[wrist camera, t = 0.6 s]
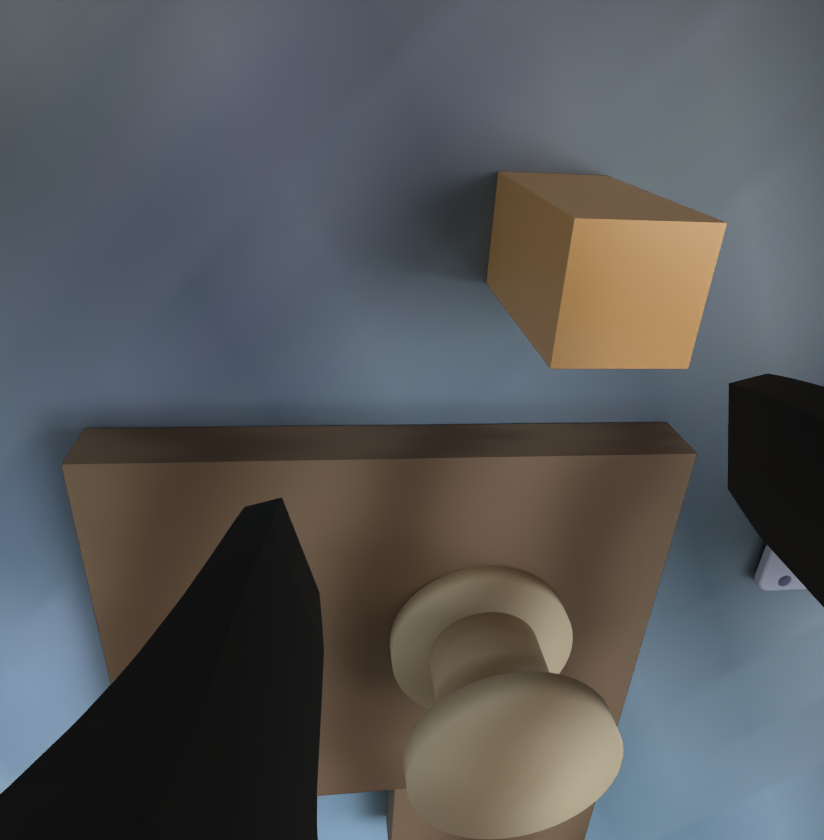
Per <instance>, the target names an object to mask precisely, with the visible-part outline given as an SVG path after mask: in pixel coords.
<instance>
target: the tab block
mask: <svg viewBox="0 0 824 840" xmlns="http://www.w3.org/2000/svg"><path fill="white" fill-rule="evenodd" d="M726 225H727V223H726V222H723V221H721V220H718V219H716V218H713V217H711V216H708V215H706V214H703V213H701V212H698V211H696V210H693V209H691V208H688V207H686V206H683V205H681V204H678V203H675V202H673V201H670V200H668V199H665V198H663V197H660V196H658V195H655V194H653V193H650V192H648V191H645V190H643V189H640V188H638V187H635V186H632V185H630V184H627V183H625V182H622V181H620V180H617V179H615V178H612V177H610V176H603V175H578V174H553V173H528V172H503V171H498V179H497V189H496V198H495V207H494V217H493V226H492V235H491V245H490V254H489V264H488V273H487V282H486V284H487V285H488V286H489V288H490V289H491V290H492V292H493V293H494V294H495V296H496V297H497V298H498V300H499V301H500V302H501V304H502V305H503V306H504V308H505V309H506V310H507V312H508V313H509V314H510V316H511V317H512V318H513V320H514V321H515V322H516V324H517V325H518V326H519V328H520V329H521V330H522V332H523V333H524V334H525V336H526V337H527V338H528V340H529V341H530V342H531V344H532V345H533V346H534V348H535V349H536V350H537V352H538V353H539V354H540V356H541V357H542V358H543V360H544V361H545V362H546V364H547V365H548V366H549V368H550V369H688V367H689V364H690V360H691V356H692V352H693V349H694V345H695V341H696V337H697V334H698V330H699V326H700V322H701V319H702V315H703V311H704V307H705V304H706V300H707V296H708V292H709V289H710V285H711V281H712V278H713V274H714V270H715V266H716V263H717V259H718V255H719V251H720V248H721V244H722V240H723V236H724V233H725V229H726Z"/></svg>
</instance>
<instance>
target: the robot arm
mask: <svg viewBox="0 0 824 840" xmlns="http://www.w3.org/2000/svg"><path fill="white" fill-rule="evenodd" d="M728 490H729V491H730V493H731V494H732V496H733V497H734V499H735V500H736V502H737V504H738V505H739V507H740V508H741V510H742V511H743V513H744V514H745V516H746V517H747V519H748V520H749V521H750V523H751V524H752V526H753V527H754V528H755V530H756V531H757V533H758V534H759V535H760V537H761V538H762V540H763V541H764V542H765V543H766V544H767V545H766V547H765V550H764V553H763V555H762V558H761V561H760V563H759V566H758V569H757V571H756V574H755V578H754V580H755V582H756V584H757V585H758V586H759V587H760V588H761V589H762V590H766V591H773V590H794V589H808V591H809V592H810V593H811V594H812V595H813V596H814V597H815V598H816V599H817V600H818V601H819V602H820V604H821V605H822V606H823V607H824V387H823V386H819V385H816V384H812V383H808V382H804V381H800V380H796V379H792V378H787V377H783V376H778V375H772V374H764V375H760V376H756V377H752V378H748V379H744V380H740V381H736V382H732V383H729V424H728ZM323 665H324V642H323V627H322V615H321V603H320V592H319V590H318V587H317V585H316V582H315V580H314V577H313V575H312V572H311V570H310V567H309V565H308V562H307V559H306V557H305V554H304V552H303V549H302V547H301V544H300V542H299V539H298V537H297V534H296V532H295V529H294V527H293V524H292V521H291V519H290V516H289V514H288V511H287V509H286V506H285V504H284V501H283V499H282V497H281V498H277V499H273V500H269V501H265V502H262V503H258V504H254V505H250V506H246V507H244V508H243V510H242V511H241V512H240V514H239V515H238V516H237V518H236V519H235V521H234V522H233V524H232V525H231V526H230V528H229V529H228V531H227V532H226V534H225V535H224V537H223V538H222V540H221V541H220V543H219V544H218V546H217V547H216V549H215V550H214V552H213V553H212V555H211V556H210V558H209V559H208V560H207V562H206V563H205V565H204V566H203V568H202V569H201V570H200V572H199V573H198V575H197V576H196V578H195V579H194V580H193V582H192V583H191V585H190V586H189V587H188V589H187V590H186V592H185V593H184V595H183V596H182V597H181V599H180V600H179V601H178V603H177V604H176V605H175V606H174V608H173V609H172V610H171V612H170V613H169V614H168V615H167V617H166V618H165V619H164V621H163V622H162V623H161V624H160V626H159V627H158V628H157V630H156V631H155V632H154V633H153V635H152V636H151V637H150V639H149V640H148V641H147V642H146V644H145V645H144V646H143V648H142V649H141V650H140V651H139V653H138V654H137V655H136V656H135V657H134V659H133V660H132V661H131V662H130V663H129V665H128V666H127V667H126V668H125V669H124V670H123V671H122V673H121V674H120V675H119V676H118V677H117V678H116V679H115V681H114V682H113V683H112V684H111V685H110V686H109V687H108V688H107V689H106V690H105V691H104V693H103V694H102V695H101V696H100V697H99V698H98V699H97V700H96V701H95V702H94V703H93V704H92V706H91V707H90V708H89V709H88V710H87V711H86V712H85V713H84V714H83V715H82V716H81V717H80V718H79V719H78V720H77V721H76V722H75V723H74V724H73V725H72V726H71V727H70V728H69V729H68V730H67V731H66V732H65V733H64V734H63V735H62V736H61V737H60V738H59V739H58V740H57V741H56V742H55V743H54V744H53V745H52V746H51V747H50V748H49V749H48V750H46V751H45V752H44V753H43V754H42V755H41V756H40V757H39V758H38V759H37V760H36V761H35V762H34V763H33V764H32V765H31V766H30V767H29V768H28V769H27V770H26V771H25V772H24V773H23V774H21V775H20V776H19V777H18V778H17V779H16V780H15V781H14V782H13V783H12V784H11V785H10V786H9V787H8V788H7V789H6V790H4V791H3V792H2V793H1V794H0V840H318V838H317V782H318V763H319V744H320V726H321V707H322V687H323Z"/></svg>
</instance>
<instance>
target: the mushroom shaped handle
mask: <svg viewBox="0 0 824 840" xmlns="http://www.w3.org/2000/svg"><path fill="white" fill-rule="evenodd" d="M572 642H573V632H572V627H571V623H570V621H569V618H568V616H567V614H566V611H565V609H564V607H563V605H562V602H561V600H560V598H559V596H558V595H557V593H556V592H555V591H554V589H553V588H552V587H551V586H550V585H549V584H548V583H546V582H545V581H544V580H542V579H541V578H539V577H537V576H536V575H534V574H532V573H529V572H527V571H524V570H521V569H517V568H513V567H506V566H477V567H471V568H466V569H462V570H458V571H455V572H452V573H449V574H447V575H444V576H442V577H440V578H438V579H436V580H434V581H432V582H430V583H429V584H427V585H426V586H424V587H423V588H421V589H420V590H419V591H418V592H416V593H415V594H414V595H413V596H412V597H411V598H410V599H409V600H408V601H407V602H406V603H405V604H404V606H403V607H402V609H401V610H400V611H399V613H398V615H397V617H396V619H395V621H394V623H393V626H392V629H391V634H390V652H391V660H392V668H393V672H394V676H395V679H396V681H397V683H398V685H399V686H400V688H401V689H402V691H403V692H404V693H405V694H406V695H407V696H408V697H409V698H411V699H412V700H413V701H415V702H416V703H418V704H419V705H421V706H423V707H425V708H428V709H429V710H428V711H427V712H426V713H425V714H424V715H423V716H422V717H421V718H420V719H419V720H418V722H417V723H416V724H415V726H414V727H413V729H412V731H411V732H410V734H409V736H408V739H407V741H406V744H405V748H404V754H403V758H404V771H405V779H406V788H407V794H408V798H409V801H410V803H411V805H412V807H413V809H414V810H415V811H416V813H417V814H418V815H419V816H420V817H421V818H422V819H423V820H424V821H425V822H427V823H428V824H430V825H431V826H433V827H435V828H437V829H439V830H441V831H443V832H446V833H449V834H452V835H456V836H461V837H465V838H474V839H504V838H512V837H518V836H523V835H528V834H532V833H535V832H539V831H542V830H545V829H548V828H550V827H553V826H556V825H558V824H560V823H562V822H564V821H567V820H568V819H570V818H572V817H574V816H576V815H577V814H579V813H580V812H582V811H583V810H585V809H586V808H588V807H589V806H590V805H592V804H593V803H594V802H595V801H596V800H598V799H599V798H600V797H601V796H602V795H603V794H604V793H605V792H606V790H607V789H608V788H609V787H610V785H611V784H612V783H613V781H614V779H615V778H616V776H617V774H618V772H619V769H620V767H621V764H622V759H623V742H622V737H621V735H620V733H619V731H618V728H617V726H616V724H615V722H614V719H613V717H612V715H611V713H610V710H609V708H608V706H607V704H606V702H605V701H604V700H603V698H602V697H601V696H600V695H599V694H598V693H597V692H596V691H595V690H594V689H592V688H591V687H589V686H588V685H587V684H585V683H583V682H581V681H579V680H577V679H574V678H571V677H568V676H565V675H560V674H559V673H560V672H561V670H562V669H563V667H564V666H565V664H566V662H567V660H568V658H569V655H570V652H571V649H572Z"/></svg>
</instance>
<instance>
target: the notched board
mask: <svg viewBox="0 0 824 840" xmlns="http://www.w3.org/2000/svg"><path fill="white" fill-rule="evenodd" d="M696 456H697V453H696V452H695V451H694V450H693V449H692V448H691V447H690V446H689V445H688V444H687V443H686V442H685V441H684V440H683V438H682V437H681V436H680V435H679V434H678V433H677V432H676V431H675V430H674V429H673V428H672V427H671V426H670V425H669V424H668V423H667V422H645V423H550V424H455V425H359V426H264V427H168V428H85V429H84V430H83V432H82V433H81V435H80V436H79V438H78V439H77V441H76V443H75V444H74V446H73V447H72V449H71V450H70V452H69V453H68V455H67V456H66V458H65V460H64V461H63V463H62V464H61V466H62V470H63V475H64V479H65V483H66V488H67V492H68V497H69V501H70V506H71V510H72V515H73V519H74V523H75V528H76V532H77V537H78V541H79V546H80V550H81V554H82V559H83V563H84V568H85V572H86V577H87V581H88V585H89V590H90V594H91V599H92V603H93V608H94V612H95V616H96V621H97V625H98V630H99V634H100V639H101V643H102V647H103V652H104V656H105V661H106V665H107V670H108V674H109V678H110V683H111V684H112V683H113V682H114V681H115V679H116V678H117V677H118V676H119V675H120V674H121V673H122V671H123V670H124V669H125V668H126V667H127V666H128V665H129V663H130V662H131V661H132V660H133V659H134V657H135V656H136V655H137V654H138V653H139V651H140V650H141V649H142V648H143V646H144V645H145V644H146V642H147V641H148V640H149V639H150V637H151V636H152V635H153V633H154V632H155V631H156V630H157V628H158V627H159V626H160V624H161V623H162V622H163V621H164V619H165V618H166V617H167V615H168V614H169V613H170V612H171V610H172V609H173V608H174V606H175V605H176V604H177V603H178V601H179V600H180V599H181V597H182V596H183V595H184V593H185V592H186V590H187V589H188V587H189V586H190V585H191V583H192V582H193V580H194V579H195V578H196V576H197V575H198V573H199V572H200V570H201V569H202V568H203V566H204V565H205V563H206V562H207V560H208V559H209V558H210V556H211V555H212V553H213V552H214V550H215V549H216V547H217V546H218V544H219V543H220V541H221V540H222V538H223V537H224V535H225V534H226V532H227V531H228V529H229V528H230V526H231V525H232V524H233V522H234V521H235V519H236V518H237V516H238V515H239V514H240V512H241V511H242V510H243V508H244V507H246V506H250V505H254V504H258V503H262V502H265V501H269V500H273V499H277V498H281V497H282V499H283V501H284V504H285V506H286V509H287V511H288V514H289V516H290V519H291V521H292V524H293V527H294V529H295V532H296V534H297V537H298V539H299V542H300V544H301V547H302V549H303V552H304V554H305V557H306V559H307V562H308V565H309V567H310V570H311V572H312V575H313V577H314V580H315V582H316V585H317V587H318V590H319V592H320V603H321V615H322V627H323V642H324V665H323V687H322V707H321V726H320V744H319V763H318V782H317V796H321V795H334V794H346V793H358V792H370V791H383V790H388V792H387V810H386V821H387V833H388V840H584V839H585V835H586V832H587V828H588V825H589V821H590V818H591V815H592V811H593V808H594V804H595V802H594V803H593V804H592V805H590V806H589V807H588V808H586V809H585V810H583V811H582V812H580V813H579V814H577V815H576V816H574V817H572V818H570V819H568V820H567V821H564V822H562V823H560V824H558V825H556V826H553V827H550V828H548V829H545V830H542V831H539V832H535V833H532V834H528V835H523V836H518V837H512V838H504V839H474V838H465V837H461V836H456V835H452V834H449V833H446V832H443V831H441V830H439V829H437V828H435V827H433V826H431V825H430V824H428V823H427V822H425V821H424V820H423V819H422V818H421V817H420V816H419V815H418V814H417V813H416V811H415V810H414V809H413V807H412V805H411V803H410V801H409V798H408V794H407V788H406V779H405V771H404V758H403V754H404V748H405V744H406V741H407V739H408V736H409V734H410V732H411V731H412V729H413V727H414V726H415V724H416V723H417V722H418V720H419V719H420V718H421V717H422V716H423V715H424V714H425V713H426V712H427V711H428V710H429V709H428V708H425V707H423V706H421V705H419V704H418V703H416V702H415V701H413V700H412V699H411V698H409V697H408V696H407V695H406V694H405V693H404V692H403V691H402V689H401V688H400V686H399V685H398V683H397V681H396V679H395V676H394V672H393V668H392V660H391V652H390V634H391V629H392V626H393V623H394V621H395V619H396V617H397V615H398V613H399V611H400V610H401V609H402V607H403V606H404V604H405V603H406V602H407V601H408V600H409V599H410V598H411V597H412V596H413V595H414V594H415V593H416V592H418V591H419V590H420V589H421V588H423V587H424V586H426V585H427V584H429V583H430V582H432V581H434V580H436V579H438V578H440V577H442V576H444V575H447V574H449V573H452V572H455V571H458V570H462V569H466V568H471V567H477V566H506V567H513V568H517V569H521V570H524V571H527V572H529V573H532V574H534V575H536V576H537V577H539V578H541V579H542V580H544V581H545V582H546V583H548V584H549V585H550V586H551V587H552V588H553V589H554V591H555V592H556V593H557V595H558V596H559V598H560V600H561V602H562V605H563V607H564V609H565V611H566V614H567V616H568V618H569V621H570V623H571V627H572V632H573V642H572V649H571V652H570V655H569V658H568V660H567V662H566V664H565V666H564V667H563V669H562V670H561V672H560V673H559V674H560V675H565V676H568V677H571V678H574V679H577V680H579V681H581V682H583V683H585V684H587V685H588V686H589V687H591V688H592V689H594V690H595V691H596V692H597V693H598V694H599V695H600V696H601V697H602V698H603V700H604V701H605V702H606V704H607V706H608V708H609V710H610V713H611V715H612V717H613V719H614V722H615V724H616V726H618V722H619V719H620V716H621V712H622V709H623V705H624V702H625V699H626V695H627V692H628V688H629V685H630V681H631V678H632V675H633V671H634V668H635V664H636V661H637V658H638V654H639V651H640V647H641V644H642V640H643V637H644V634H645V630H646V627H647V623H648V620H649V617H650V613H651V610H652V606H653V603H654V599H655V596H656V593H657V589H658V586H659V582H660V579H661V576H662V572H663V569H664V565H665V562H666V558H667V555H668V552H669V548H670V545H671V541H672V538H673V535H674V531H675V528H676V524H677V521H678V517H679V514H680V511H681V507H682V504H683V500H684V497H685V494H686V490H687V487H688V483H689V480H690V476H691V473H692V470H693V466H694V463H695V459H696Z"/></svg>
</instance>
